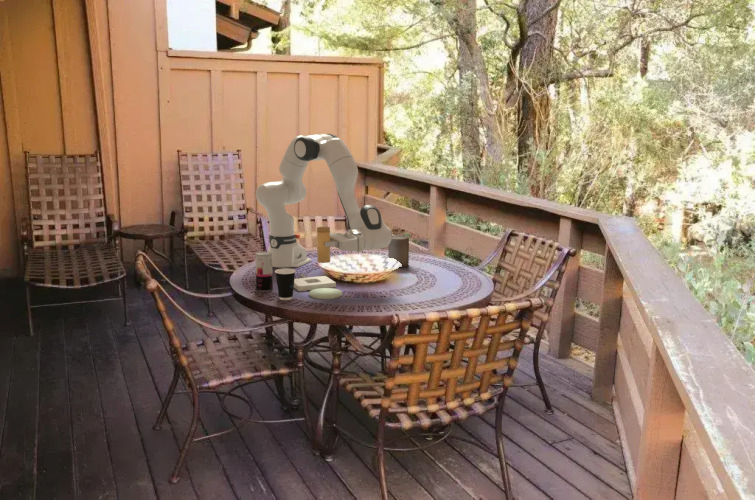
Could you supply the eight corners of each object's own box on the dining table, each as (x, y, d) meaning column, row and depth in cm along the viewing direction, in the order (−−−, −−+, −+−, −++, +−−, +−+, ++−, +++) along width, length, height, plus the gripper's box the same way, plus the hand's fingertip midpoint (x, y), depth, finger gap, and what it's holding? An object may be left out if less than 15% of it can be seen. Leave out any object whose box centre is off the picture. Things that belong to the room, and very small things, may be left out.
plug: (327, 259, 267) (327, 226, 264) (332, 262, 262) (331, 228, 259) (315, 260, 264) (315, 227, 262) (320, 263, 260) (319, 229, 257)
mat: (322, 288, 272) (322, 286, 272) (348, 293, 265) (348, 291, 265) (302, 295, 261) (302, 293, 261) (329, 301, 255) (329, 298, 254)
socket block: (318, 276, 292) (318, 271, 292) (335, 287, 275) (335, 282, 274) (283, 279, 285) (283, 274, 285) (298, 291, 268) (298, 286, 267)
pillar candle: (410, 264, 318) (411, 232, 315) (406, 268, 308) (406, 236, 305) (390, 262, 320) (391, 231, 317) (385, 267, 311) (385, 235, 308)
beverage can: (260, 292, 265) (259, 255, 262) (253, 289, 270) (252, 252, 267) (275, 290, 268) (275, 253, 265) (268, 286, 274) (267, 250, 271)
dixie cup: (297, 300, 255) (297, 272, 252) (276, 302, 253) (276, 273, 250) (294, 295, 262) (294, 267, 260) (274, 296, 260) (273, 268, 258)
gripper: (343, 228, 276) (312, 230, 270) (364, 236, 258) (330, 239, 252) (343, 243, 277) (312, 246, 271) (364, 252, 259) (331, 255, 253)
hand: (321, 242), depth 261 cm, fingers closed on plug, 5 cm apart
